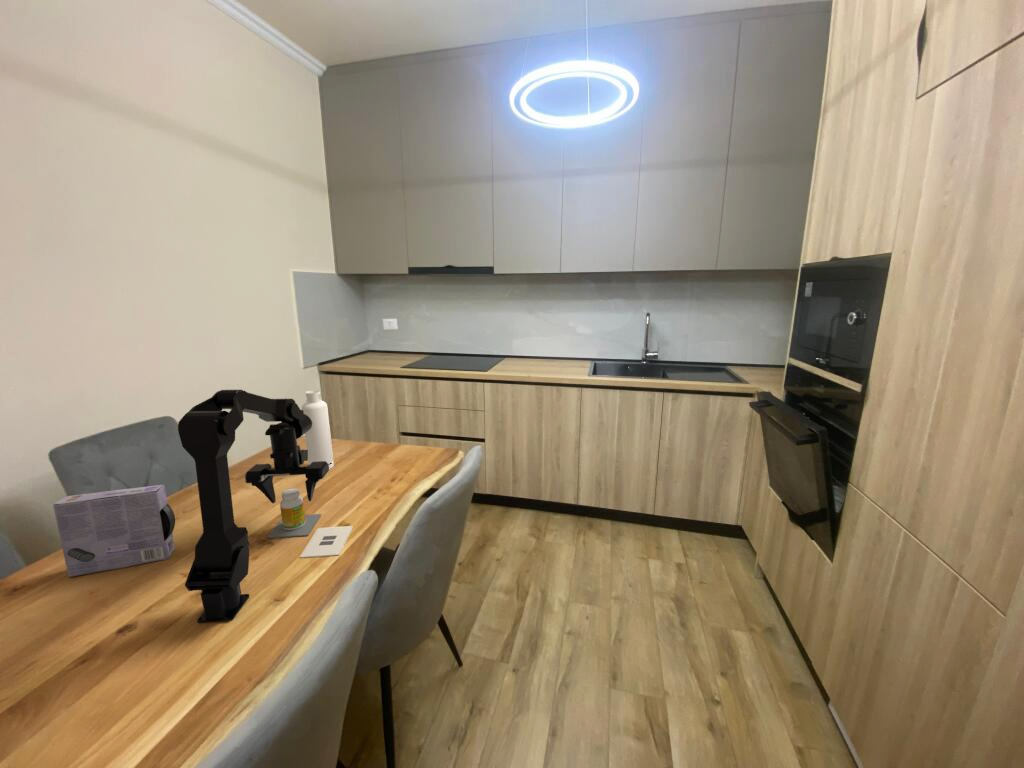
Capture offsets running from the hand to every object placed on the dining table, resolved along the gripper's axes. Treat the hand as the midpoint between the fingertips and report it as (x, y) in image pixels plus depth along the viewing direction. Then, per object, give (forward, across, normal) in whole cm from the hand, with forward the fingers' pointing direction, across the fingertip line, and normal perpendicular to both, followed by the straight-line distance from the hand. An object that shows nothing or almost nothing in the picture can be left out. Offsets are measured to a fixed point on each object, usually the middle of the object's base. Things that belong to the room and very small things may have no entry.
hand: (292, 501), depth 107 cm
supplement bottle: (+7, 0, 0) cm, 7 cm away
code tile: (+7, -11, +8) cm, 15 cm away
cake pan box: (+8, +33, +11) cm, 36 cm away
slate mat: (+7, 0, 0) cm, 7 cm away
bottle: (+8, +6, -38) cm, 39 cm away
